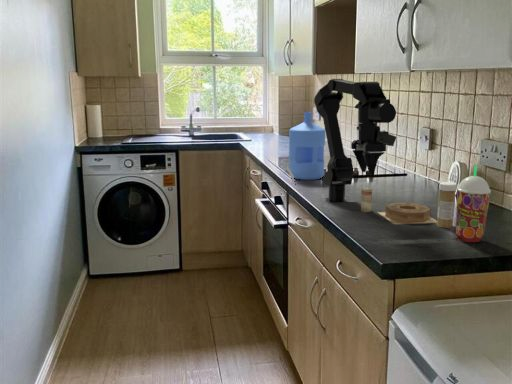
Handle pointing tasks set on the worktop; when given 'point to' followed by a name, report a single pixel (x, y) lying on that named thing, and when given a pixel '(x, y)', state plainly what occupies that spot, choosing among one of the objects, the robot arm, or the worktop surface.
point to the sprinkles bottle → (446, 204)
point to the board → (405, 222)
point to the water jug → (306, 150)
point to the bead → (407, 212)
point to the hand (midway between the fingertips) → (367, 173)
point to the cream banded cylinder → (366, 199)
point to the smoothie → (472, 208)
